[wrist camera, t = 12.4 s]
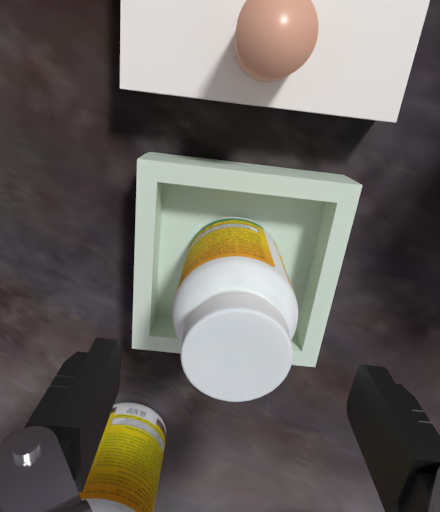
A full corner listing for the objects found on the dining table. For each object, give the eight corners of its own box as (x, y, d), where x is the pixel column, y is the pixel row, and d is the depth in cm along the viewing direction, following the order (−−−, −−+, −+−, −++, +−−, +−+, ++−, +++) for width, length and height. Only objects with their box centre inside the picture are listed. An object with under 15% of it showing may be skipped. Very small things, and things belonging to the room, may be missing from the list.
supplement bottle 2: (295, 260, 22) (345, 365, 13) (228, 312, 23) (231, 440, 14) (236, 194, 20) (246, 260, 12) (168, 253, 22) (129, 354, 13)
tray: (142, 321, 25) (131, 348, 22) (149, 151, 20) (137, 158, 18) (305, 338, 25) (315, 367, 22) (344, 174, 21) (362, 185, 18)
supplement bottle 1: (105, 388, 27) (39, 543, 17) (177, 410, 27) (153, 571, 18) (87, 441, 29) (19, 606, 19) (155, 460, 29) (122, 628, 20)
